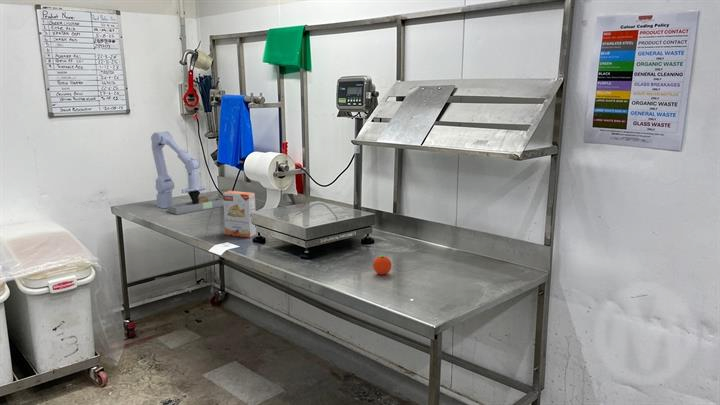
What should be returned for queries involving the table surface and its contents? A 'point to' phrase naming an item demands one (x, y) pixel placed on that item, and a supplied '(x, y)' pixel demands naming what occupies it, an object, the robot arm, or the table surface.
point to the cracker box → (239, 213)
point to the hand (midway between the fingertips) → (194, 203)
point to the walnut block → (202, 199)
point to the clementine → (382, 265)
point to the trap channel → (195, 206)
